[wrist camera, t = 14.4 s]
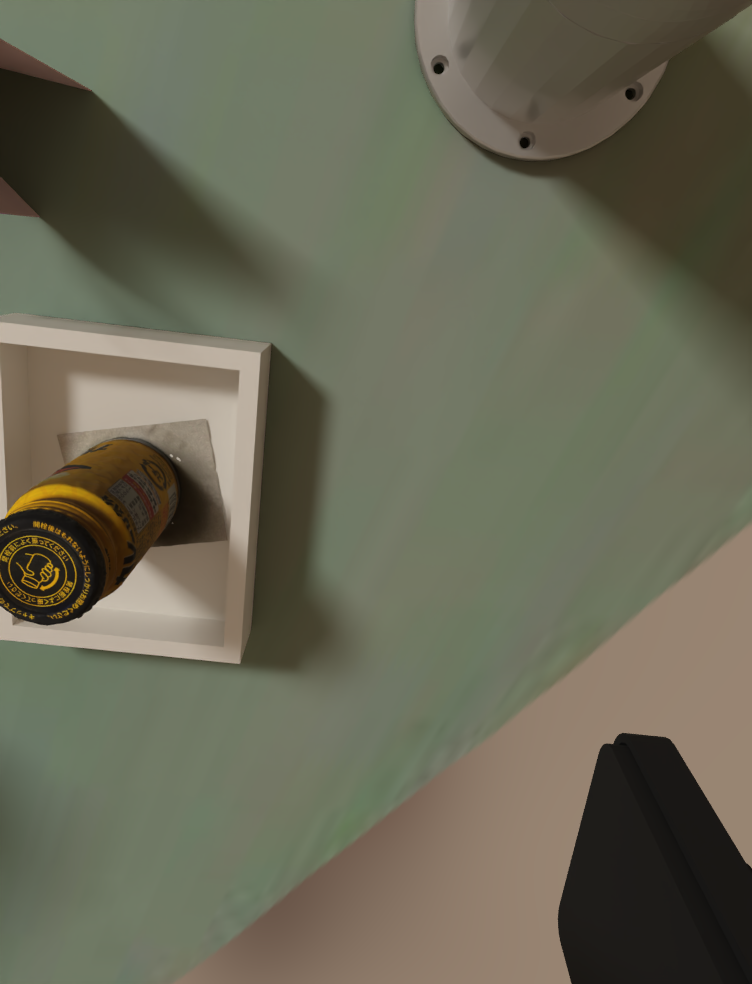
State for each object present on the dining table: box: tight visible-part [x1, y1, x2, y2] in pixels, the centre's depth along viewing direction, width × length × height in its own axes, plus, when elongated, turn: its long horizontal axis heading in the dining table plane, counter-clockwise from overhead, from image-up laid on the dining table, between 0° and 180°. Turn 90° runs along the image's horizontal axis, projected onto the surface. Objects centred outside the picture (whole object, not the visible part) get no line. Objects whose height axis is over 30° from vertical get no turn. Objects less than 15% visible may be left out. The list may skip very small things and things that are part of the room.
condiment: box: [0, 419, 228, 626], centre depth 36 cm, size 7×8×12 cm
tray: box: [0, 313, 272, 664], centre depth 41 cm, size 18×14×4 cm
